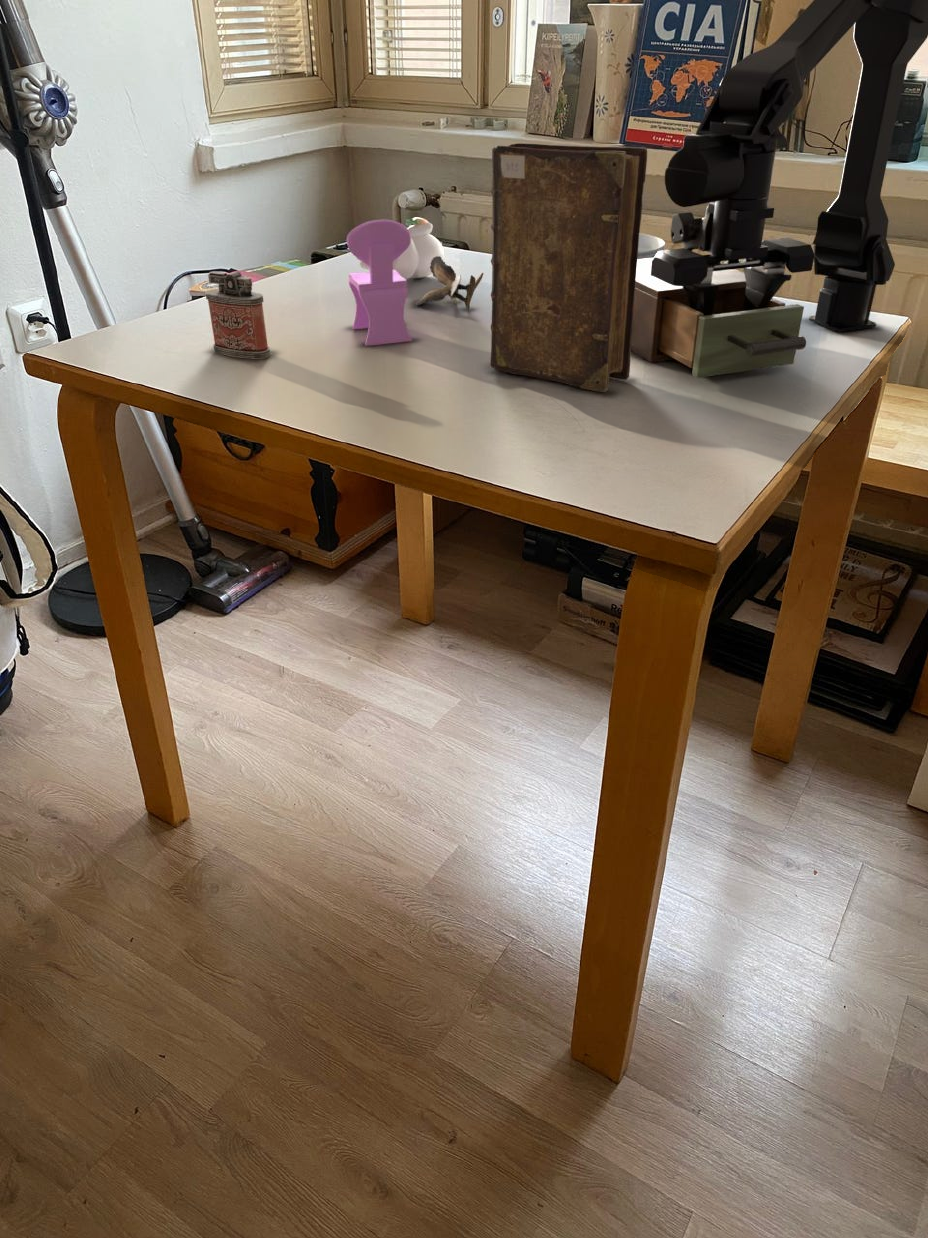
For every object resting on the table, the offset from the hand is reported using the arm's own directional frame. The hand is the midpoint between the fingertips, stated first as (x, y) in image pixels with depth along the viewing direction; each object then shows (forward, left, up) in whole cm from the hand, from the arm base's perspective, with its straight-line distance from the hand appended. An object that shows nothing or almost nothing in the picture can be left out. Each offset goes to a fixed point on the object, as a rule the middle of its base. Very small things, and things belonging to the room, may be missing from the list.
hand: (723, 335), depth 114 cm
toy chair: (+35, -28, -4) cm, 45 cm away
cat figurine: (+23, -56, -4) cm, 61 cm away
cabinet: (0, -12, -4) cm, 12 cm away
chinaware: (-3, -34, -4) cm, 35 cm away
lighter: (+54, -27, -4) cm, 61 cm away
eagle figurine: (+22, -38, -4) cm, 44 cm away
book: (+20, -4, -4) cm, 21 cm away
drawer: (0, +1, -3) cm, 3 cm away
